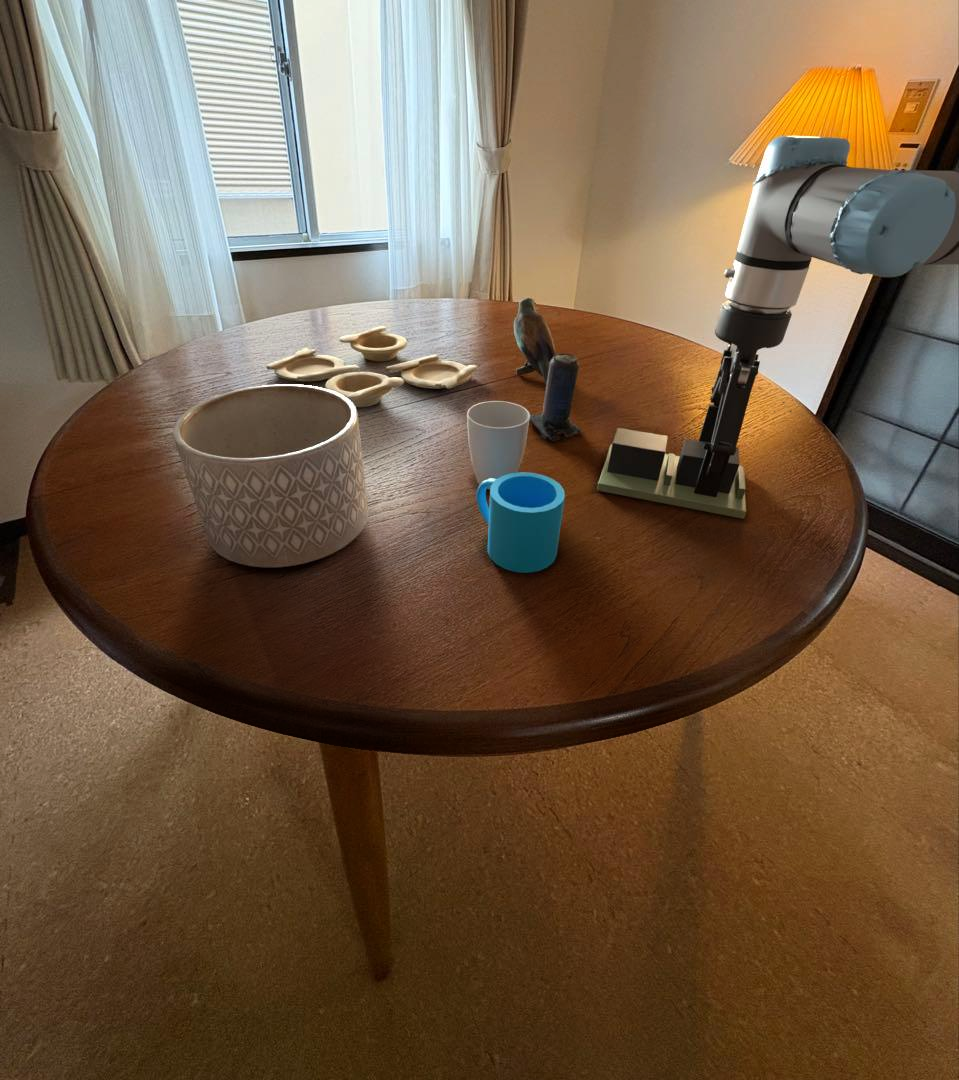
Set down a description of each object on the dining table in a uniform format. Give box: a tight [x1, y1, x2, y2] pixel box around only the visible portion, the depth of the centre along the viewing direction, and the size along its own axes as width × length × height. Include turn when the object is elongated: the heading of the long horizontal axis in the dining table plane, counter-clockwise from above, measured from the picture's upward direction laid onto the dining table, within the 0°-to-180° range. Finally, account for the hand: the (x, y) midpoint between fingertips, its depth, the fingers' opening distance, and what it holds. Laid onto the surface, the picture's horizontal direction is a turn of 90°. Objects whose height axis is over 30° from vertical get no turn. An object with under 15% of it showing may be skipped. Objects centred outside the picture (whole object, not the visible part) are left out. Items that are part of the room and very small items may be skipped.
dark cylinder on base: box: [529, 353, 581, 443], centre depth 88 cm, size 9×8×12 cm
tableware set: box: [265, 325, 478, 408], centre depth 106 cm, size 35×29×4 cm
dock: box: [596, 427, 747, 520], centre depth 77 cm, size 19×12×6 cm, turn 71°
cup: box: [466, 400, 531, 490], centre depth 75 cm, size 8×8×10 cm
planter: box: [172, 384, 370, 568], centre depth 64 cm, size 19×19×14 cm
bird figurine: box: [513, 297, 557, 385], centre depth 106 cm, size 13×10×20 cm
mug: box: [475, 471, 566, 574], centre depth 64 cm, size 12×8×8 cm
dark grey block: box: [675, 438, 740, 494], centre depth 76 cm, size 7×5×4 cm
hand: (705, 470), depth 76 cm, fingers open, 12 cm apart
